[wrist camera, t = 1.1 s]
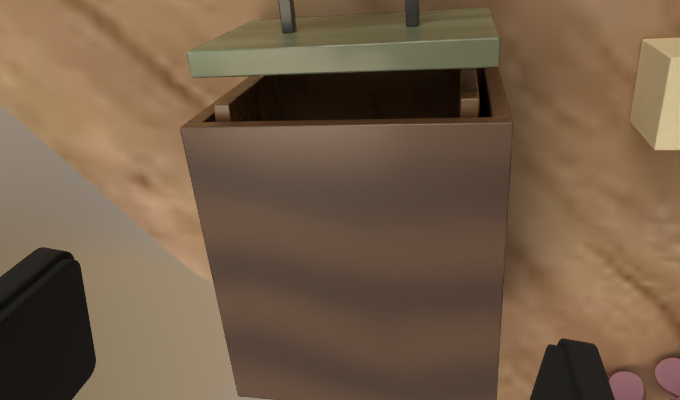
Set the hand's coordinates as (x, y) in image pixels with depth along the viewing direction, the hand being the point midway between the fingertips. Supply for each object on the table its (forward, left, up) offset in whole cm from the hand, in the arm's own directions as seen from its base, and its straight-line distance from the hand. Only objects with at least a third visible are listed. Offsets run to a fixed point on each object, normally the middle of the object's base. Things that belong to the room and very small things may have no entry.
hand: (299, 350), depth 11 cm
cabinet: (+8, -2, -25) cm, 26 cm away
